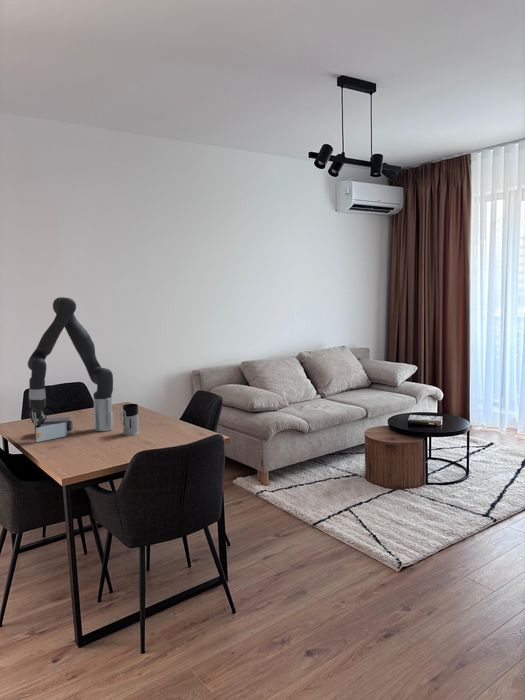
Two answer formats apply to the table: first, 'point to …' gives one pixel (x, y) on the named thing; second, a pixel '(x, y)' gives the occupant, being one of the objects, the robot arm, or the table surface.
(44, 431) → the side door
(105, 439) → the table surface
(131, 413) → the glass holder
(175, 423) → the table surface
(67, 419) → the grey box with knob
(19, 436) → the table surface
